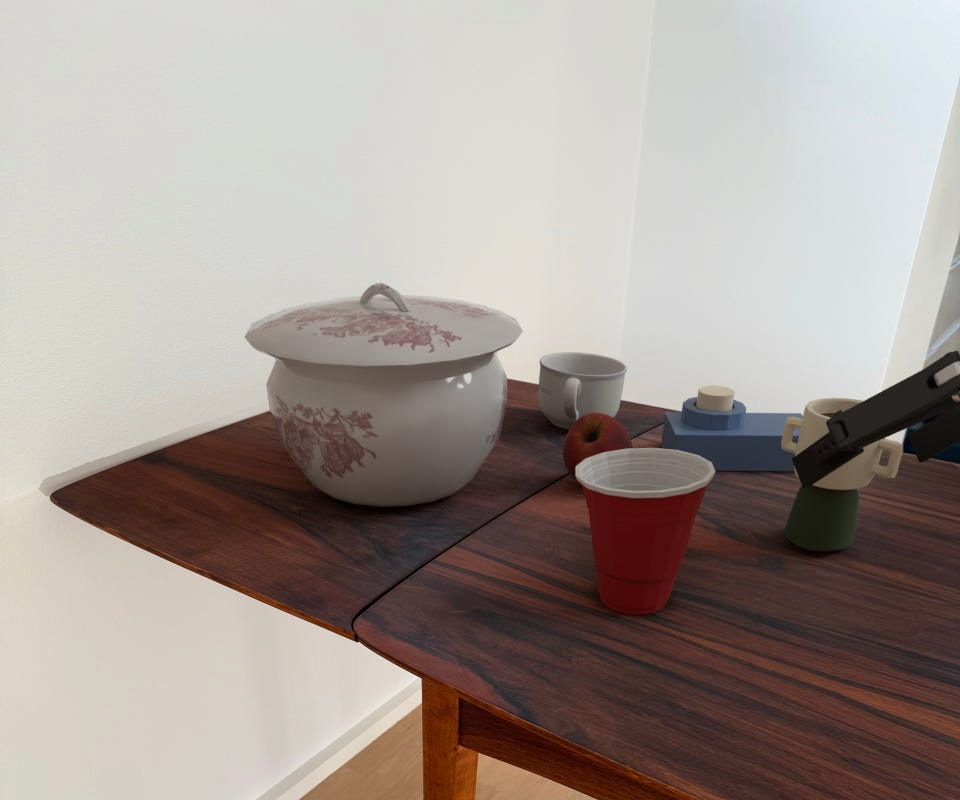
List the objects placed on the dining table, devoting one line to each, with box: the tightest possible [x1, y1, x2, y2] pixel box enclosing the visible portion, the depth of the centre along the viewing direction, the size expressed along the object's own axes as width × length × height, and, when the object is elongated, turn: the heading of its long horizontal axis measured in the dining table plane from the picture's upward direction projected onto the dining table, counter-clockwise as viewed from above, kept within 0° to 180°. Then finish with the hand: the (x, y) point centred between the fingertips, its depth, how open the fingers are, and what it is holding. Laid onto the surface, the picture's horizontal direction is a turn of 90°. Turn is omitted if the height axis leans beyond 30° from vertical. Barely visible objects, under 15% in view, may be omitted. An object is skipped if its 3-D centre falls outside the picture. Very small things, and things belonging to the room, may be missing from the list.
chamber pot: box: [244, 282, 524, 508], centre depth 91 cm, size 28×28×21 cm
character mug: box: [781, 397, 904, 552], centre depth 80 cm, size 11×7×13 cm, turn 46°
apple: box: [562, 413, 634, 485], centre depth 94 cm, size 7×8×8 cm
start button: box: [696, 385, 735, 411], centre depth 100 cm, size 4×4×2 cm
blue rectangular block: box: [660, 396, 803, 472], centre depth 101 cm, size 16×8×6 cm, turn 88°
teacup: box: [537, 351, 628, 431], centre depth 110 cm, size 14×11×8 cm
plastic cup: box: [576, 447, 716, 616], centre depth 72 cm, size 11×11×12 cm
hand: (860, 460), depth 77 cm, fingers open, 13 cm apart
